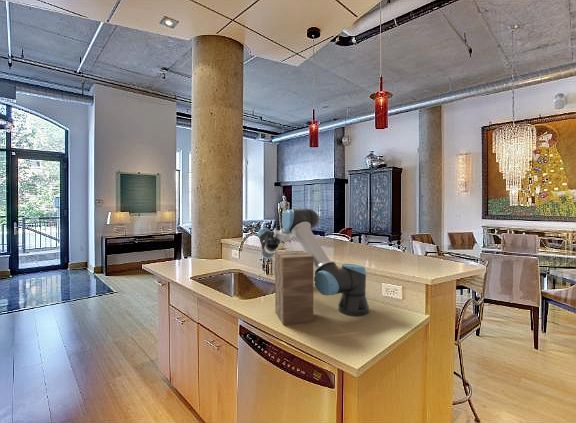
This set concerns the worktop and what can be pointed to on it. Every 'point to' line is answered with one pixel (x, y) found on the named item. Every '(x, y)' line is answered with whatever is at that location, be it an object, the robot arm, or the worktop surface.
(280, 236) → the metal bar
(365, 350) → the worktop surface
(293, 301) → the walnut stand
